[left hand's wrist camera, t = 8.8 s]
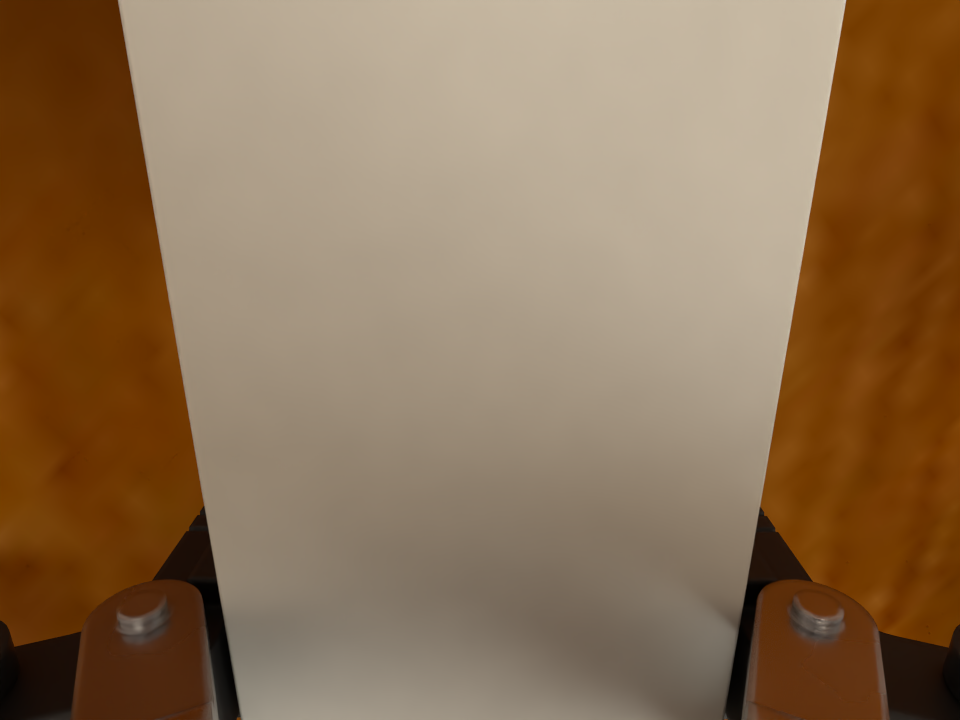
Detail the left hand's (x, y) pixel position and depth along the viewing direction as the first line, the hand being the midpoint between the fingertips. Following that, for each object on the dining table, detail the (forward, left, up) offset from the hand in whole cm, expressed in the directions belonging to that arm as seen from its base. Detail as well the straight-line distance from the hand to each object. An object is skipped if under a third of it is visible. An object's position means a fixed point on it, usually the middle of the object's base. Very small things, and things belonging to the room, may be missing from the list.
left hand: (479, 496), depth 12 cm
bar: (-3, +10, -5) cm, 11 cm away
